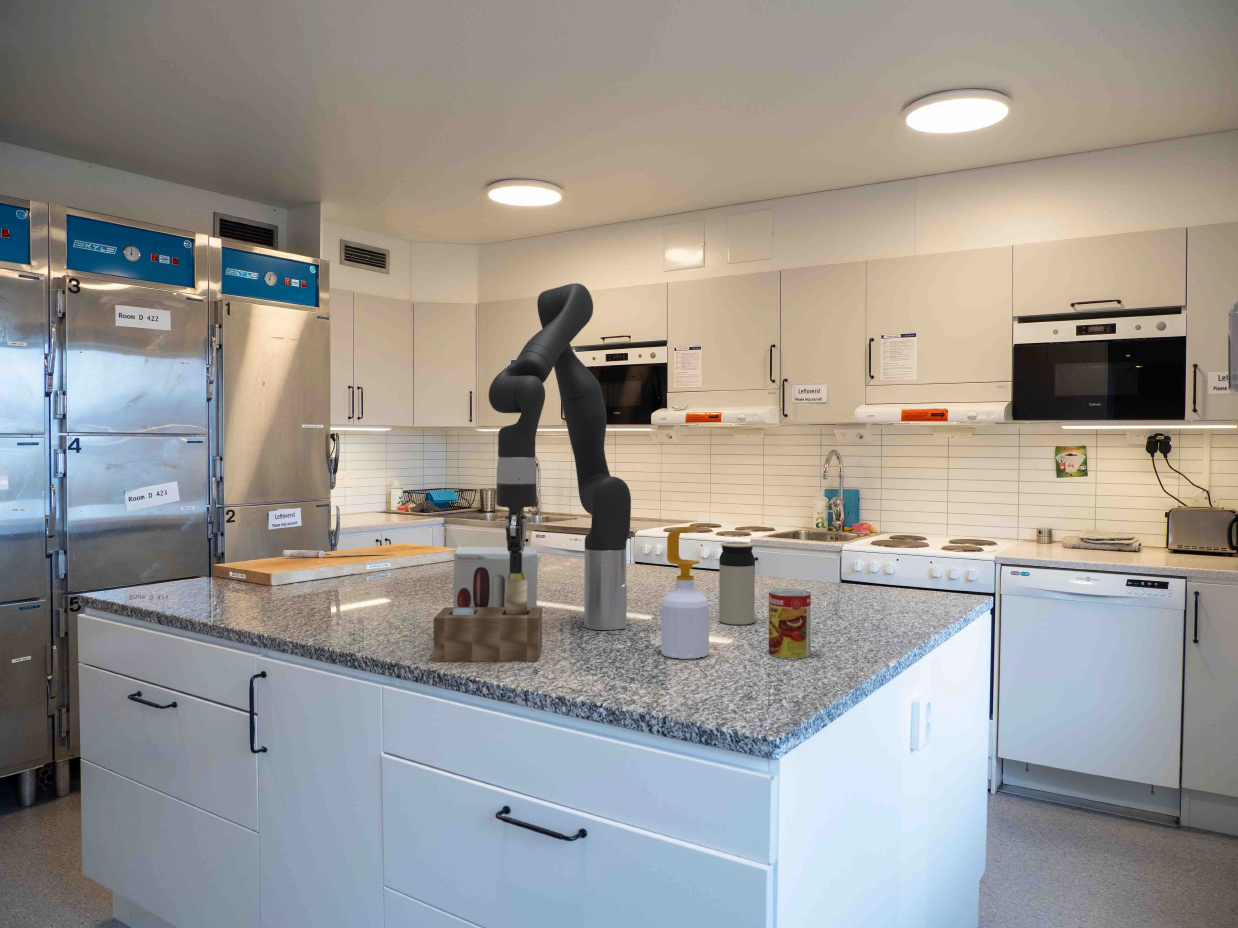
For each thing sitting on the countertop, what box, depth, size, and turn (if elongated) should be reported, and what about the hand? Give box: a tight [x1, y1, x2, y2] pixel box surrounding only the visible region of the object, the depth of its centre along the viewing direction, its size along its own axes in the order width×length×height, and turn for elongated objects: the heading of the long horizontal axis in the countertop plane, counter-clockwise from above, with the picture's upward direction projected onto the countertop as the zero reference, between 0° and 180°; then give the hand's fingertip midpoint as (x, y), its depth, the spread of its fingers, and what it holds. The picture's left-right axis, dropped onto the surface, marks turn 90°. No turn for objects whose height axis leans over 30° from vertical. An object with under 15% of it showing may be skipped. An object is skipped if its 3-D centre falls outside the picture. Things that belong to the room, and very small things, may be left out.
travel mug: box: [718, 541, 756, 626], centre depth 191 cm, size 8×8×18 cm
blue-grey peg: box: [453, 608, 474, 615], centre depth 159 cm, size 4×4×8 cm
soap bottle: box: [660, 525, 710, 660], centre depth 159 cm, size 9×9×25 cm
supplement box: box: [452, 545, 538, 607], centre depth 177 cm, size 17×13×18 cm
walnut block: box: [433, 606, 543, 663], centre depth 159 cm, size 19×11×8 cm, turn 91°
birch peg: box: [506, 579, 527, 615], centre depth 159 cm, size 4×4×8 cm
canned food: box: [768, 587, 812, 659], centre depth 160 cm, size 8×8×12 cm
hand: (515, 572), depth 159 cm, fingers closed
